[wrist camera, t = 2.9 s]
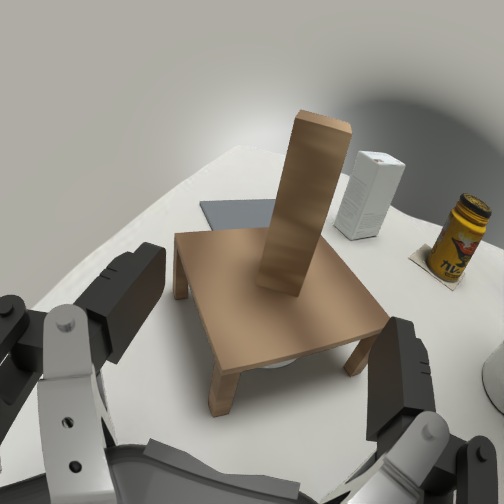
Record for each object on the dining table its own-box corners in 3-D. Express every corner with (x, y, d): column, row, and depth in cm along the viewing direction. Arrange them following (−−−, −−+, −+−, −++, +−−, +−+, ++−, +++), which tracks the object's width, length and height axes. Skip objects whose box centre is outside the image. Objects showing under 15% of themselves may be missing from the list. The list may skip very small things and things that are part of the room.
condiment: (452, 291, 39) (493, 219, 32) (407, 258, 43) (441, 185, 36) (464, 274, 43) (499, 209, 36) (424, 245, 48) (453, 180, 41)
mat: (288, 201, 50) (288, 199, 50) (336, 256, 40) (337, 254, 40) (199, 203, 45) (199, 201, 45) (230, 268, 35) (231, 265, 35)
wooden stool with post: (295, 275, 36) (345, 107, 25) (360, 372, 26) (471, 180, 15) (172, 290, 31) (187, 87, 20) (213, 417, 21) (266, 156, 10)
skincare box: (359, 221, 49) (384, 151, 42) (378, 237, 46) (407, 164, 39) (331, 225, 47) (356, 148, 40) (350, 242, 44) (380, 162, 37)
